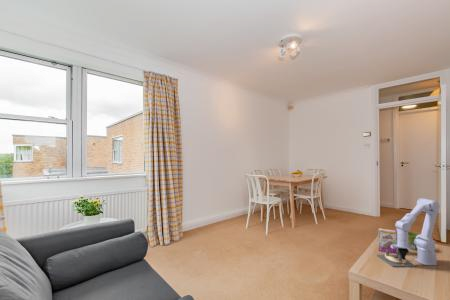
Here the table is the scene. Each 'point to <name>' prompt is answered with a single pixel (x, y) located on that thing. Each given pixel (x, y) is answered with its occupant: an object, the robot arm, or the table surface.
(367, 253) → the table surface
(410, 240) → the plant pot
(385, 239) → the candy bar box
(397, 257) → the capstan wheel
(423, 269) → the table surface
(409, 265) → the stand
